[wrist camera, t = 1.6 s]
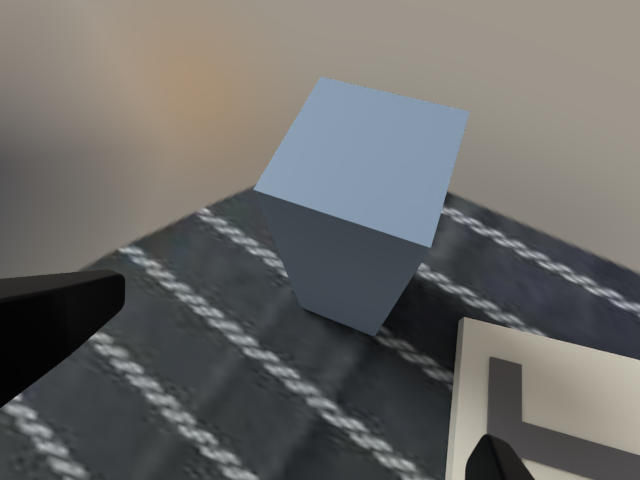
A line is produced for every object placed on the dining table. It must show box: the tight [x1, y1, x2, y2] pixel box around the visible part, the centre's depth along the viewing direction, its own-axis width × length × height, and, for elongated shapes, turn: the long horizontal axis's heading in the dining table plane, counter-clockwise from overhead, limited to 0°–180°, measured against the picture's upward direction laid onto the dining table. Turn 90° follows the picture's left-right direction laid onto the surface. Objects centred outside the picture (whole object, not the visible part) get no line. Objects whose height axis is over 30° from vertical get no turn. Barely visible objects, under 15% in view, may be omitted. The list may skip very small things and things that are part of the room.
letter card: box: [445, 317, 640, 480], centre depth 16 cm, size 11×11×1 cm
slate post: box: [253, 77, 469, 337], centre depth 15 cm, size 5×5×13 cm
